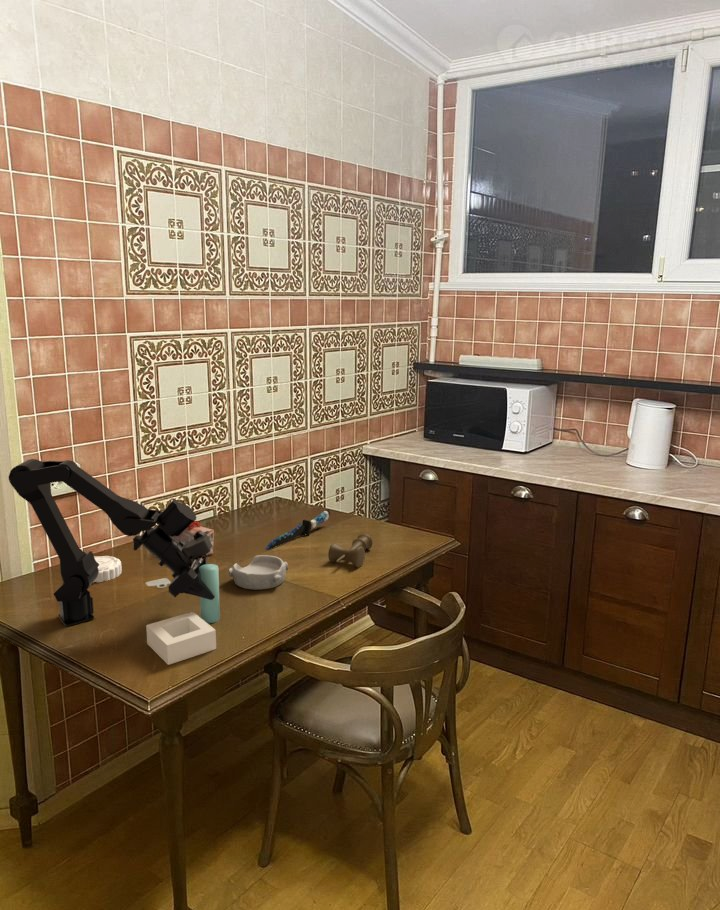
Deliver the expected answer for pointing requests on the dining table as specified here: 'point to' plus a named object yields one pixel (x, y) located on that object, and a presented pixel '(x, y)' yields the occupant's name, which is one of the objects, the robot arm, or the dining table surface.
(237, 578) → the dish
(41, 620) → the dining table surface
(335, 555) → the kendama
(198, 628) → the well block
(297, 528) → the knife
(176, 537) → the food item
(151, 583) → the mounting bracket
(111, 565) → the mooncake
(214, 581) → the teal dowel
